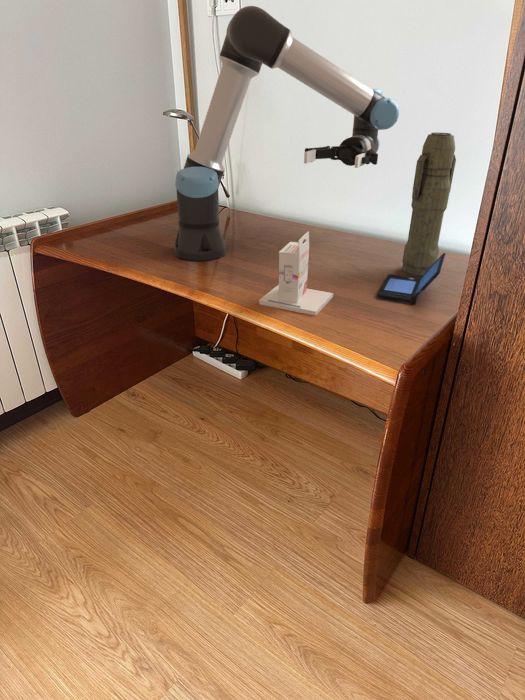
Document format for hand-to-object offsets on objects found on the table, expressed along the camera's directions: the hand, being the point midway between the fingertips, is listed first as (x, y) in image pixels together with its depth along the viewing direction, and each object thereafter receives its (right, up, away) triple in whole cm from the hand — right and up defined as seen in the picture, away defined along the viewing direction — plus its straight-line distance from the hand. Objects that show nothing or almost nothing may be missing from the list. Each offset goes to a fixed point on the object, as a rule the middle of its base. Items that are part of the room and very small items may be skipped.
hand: (330, 160), depth 128 cm
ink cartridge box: (-10, -36, -9) cm, 38 cm away
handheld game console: (+19, -34, -3) cm, 39 cm away
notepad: (-9, -37, -9) cm, 39 cm away
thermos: (+25, -27, +10) cm, 38 cm away
